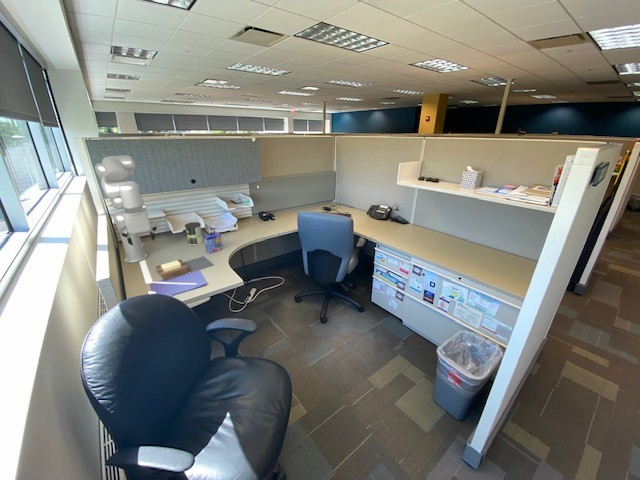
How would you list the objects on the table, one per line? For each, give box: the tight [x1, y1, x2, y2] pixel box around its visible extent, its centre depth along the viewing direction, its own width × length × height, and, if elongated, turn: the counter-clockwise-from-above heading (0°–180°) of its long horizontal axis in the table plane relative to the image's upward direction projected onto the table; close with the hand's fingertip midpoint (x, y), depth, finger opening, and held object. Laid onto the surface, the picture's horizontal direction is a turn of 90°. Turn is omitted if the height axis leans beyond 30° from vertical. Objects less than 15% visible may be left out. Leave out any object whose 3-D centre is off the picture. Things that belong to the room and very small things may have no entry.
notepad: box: [160, 260, 181, 272], centre depth 160 cm, size 6×9×2 cm, turn 133°
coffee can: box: [184, 221, 204, 246], centre depth 199 cm, size 10×10×14 cm
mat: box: [183, 255, 215, 273], centre depth 170 cm, size 16×14×1 cm
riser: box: [155, 259, 190, 282], centre depth 161 cm, size 15×14×3 cm
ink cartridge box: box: [203, 231, 223, 255], centre depth 186 cm, size 10×6×14 cm, turn 137°
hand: (142, 242), depth 140 cm, fingers open, 9 cm apart
